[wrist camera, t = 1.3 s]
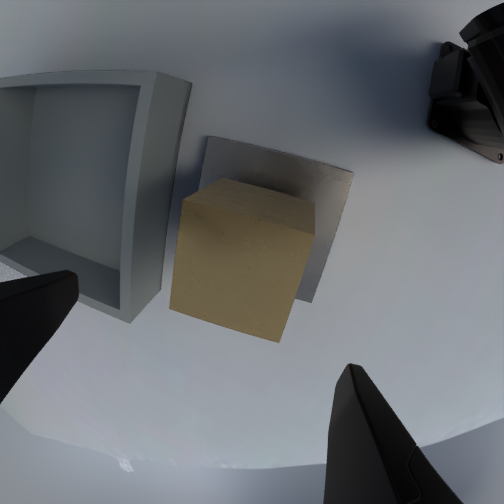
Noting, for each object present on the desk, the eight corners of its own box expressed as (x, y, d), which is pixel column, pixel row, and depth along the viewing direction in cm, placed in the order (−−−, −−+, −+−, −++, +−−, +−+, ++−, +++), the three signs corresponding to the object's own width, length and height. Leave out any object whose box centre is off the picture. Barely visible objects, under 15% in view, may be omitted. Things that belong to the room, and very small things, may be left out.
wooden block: (315, 202, 17) (315, 235, 12) (289, 285, 19) (278, 343, 14) (222, 177, 17) (182, 199, 12) (206, 261, 19) (169, 308, 14)
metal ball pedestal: (352, 171, 18) (376, 198, 11) (311, 295, 22) (306, 373, 15) (213, 136, 19) (154, 142, 12) (191, 260, 23) (138, 320, 16)
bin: (192, 83, 18) (157, 71, 14) (160, 289, 24) (130, 323, 20) (37, 79, 19) (-5, 78, 15) (29, 239, 26) (-6, 258, 21)
